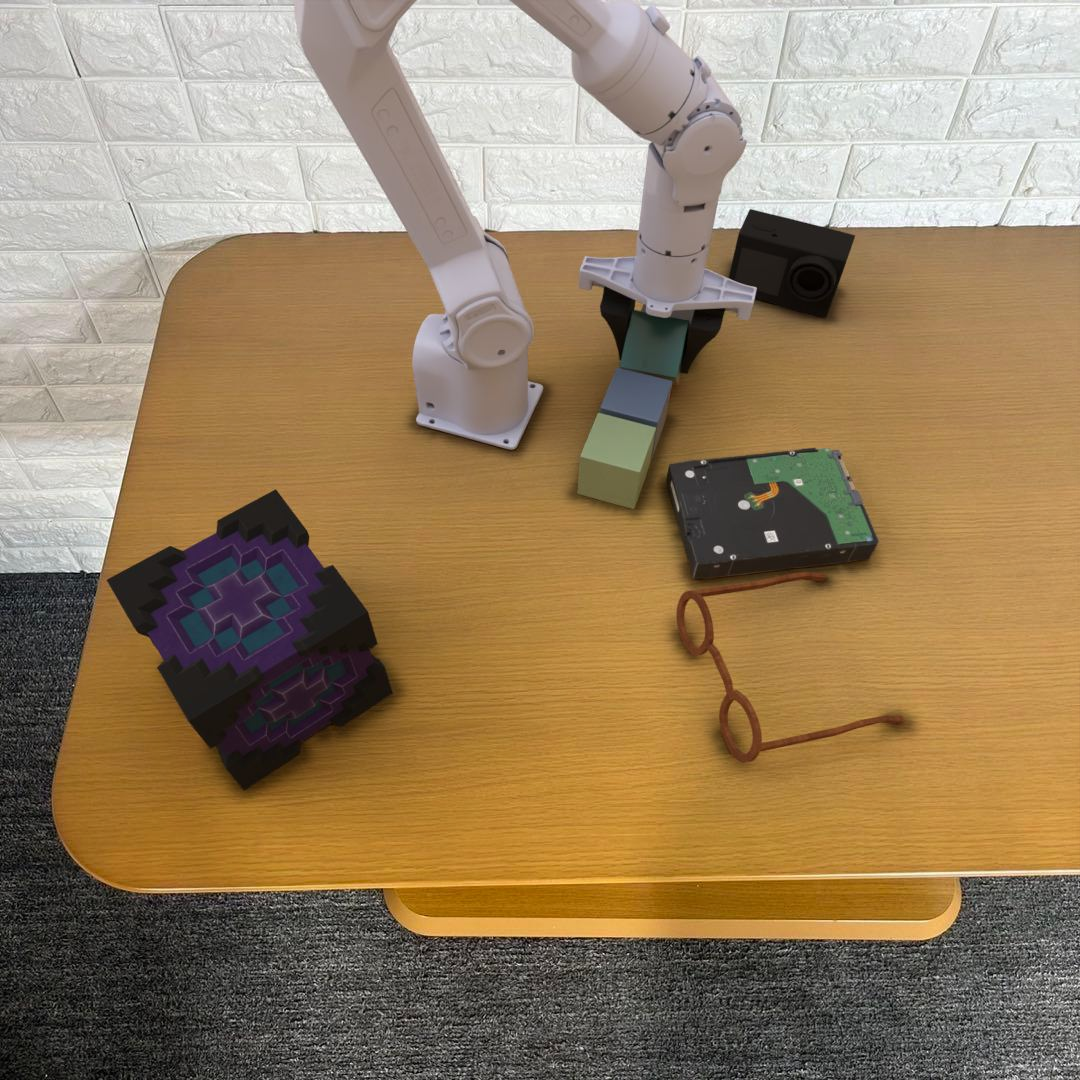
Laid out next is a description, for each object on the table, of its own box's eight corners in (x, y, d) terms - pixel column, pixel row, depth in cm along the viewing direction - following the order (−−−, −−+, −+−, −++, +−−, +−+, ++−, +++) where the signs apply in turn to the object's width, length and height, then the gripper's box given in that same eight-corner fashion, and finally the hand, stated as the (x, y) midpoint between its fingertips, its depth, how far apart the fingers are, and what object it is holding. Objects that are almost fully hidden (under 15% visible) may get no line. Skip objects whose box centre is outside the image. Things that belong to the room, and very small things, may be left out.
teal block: (624, 375, 82) (619, 367, 77) (635, 320, 82) (631, 309, 77) (677, 385, 81) (676, 378, 76) (690, 330, 81) (689, 320, 76)
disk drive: (692, 585, 71) (872, 561, 72) (697, 566, 69) (883, 541, 70) (663, 483, 77) (829, 461, 78) (666, 462, 75) (838, 440, 76)
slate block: (596, 446, 79) (599, 407, 75) (612, 406, 82) (616, 366, 77) (651, 460, 78) (658, 422, 74) (665, 420, 81) (672, 380, 77)
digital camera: (720, 298, 90) (733, 240, 84) (735, 265, 93) (749, 206, 87) (823, 326, 88) (844, 268, 82) (835, 292, 90) (856, 233, 85)
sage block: (577, 494, 76) (579, 456, 72) (594, 451, 79) (597, 412, 74) (634, 509, 75) (640, 472, 71) (649, 465, 78) (656, 427, 74)
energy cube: (169, 664, 67) (106, 579, 57) (311, 581, 71) (275, 488, 61) (243, 790, 61) (188, 721, 52) (392, 693, 66) (368, 611, 56)
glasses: (670, 615, 69) (679, 581, 65) (824, 576, 71) (842, 541, 67) (737, 775, 62) (751, 748, 58) (905, 726, 64) (931, 697, 60)
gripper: (572, 248, 69) (566, 374, 80) (760, 283, 67) (727, 407, 78) (593, 195, 73) (585, 322, 84) (772, 226, 71) (739, 352, 82)
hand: (655, 360), depth 82 cm, fingers closed on teal block, 5 cm apart
